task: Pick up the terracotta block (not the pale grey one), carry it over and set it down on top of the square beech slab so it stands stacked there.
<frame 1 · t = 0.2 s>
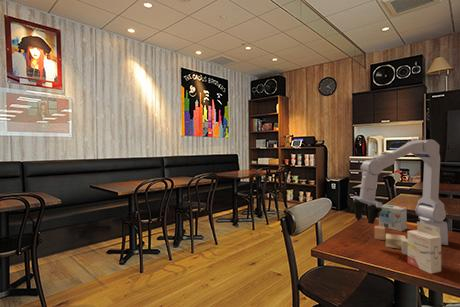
hand: (364, 220, 111), 11 cm above the table, tool pointing down, fingers open, 7 cm apart
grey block: (407, 253, 103), on the table
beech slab: (395, 245, 111), on the table
light bulb box: (392, 228, 135), on the table
ink cartridge box: (423, 268, 91), on the table
terracotta block: (379, 238, 120), on the table
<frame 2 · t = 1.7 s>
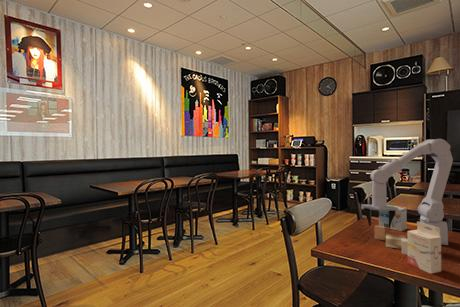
hand: (379, 226, 120), 5 cm above the table, tool pointing down, fingers open, 7 cm apart
nothing on the table moved.
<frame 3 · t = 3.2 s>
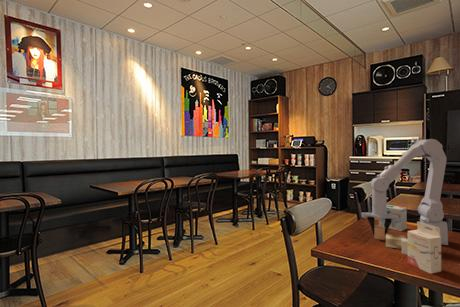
hand: (379, 234, 120), 2 cm above the table, tool pointing down, fingers closed on terracotta block, 4 cm apart
terracotta block: (379, 238, 120), on the table, touching gripper
everything else where it was.
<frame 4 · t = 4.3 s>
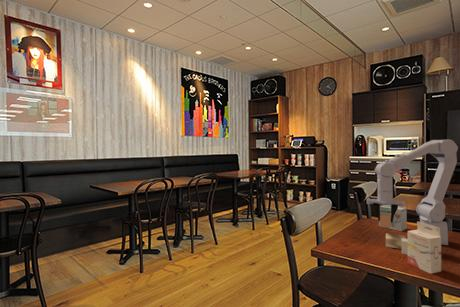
hand: (385, 221, 116), 9 cm above the table, tool pointing down, fingers closed on terracotta block, 4 cm apart
terracotta block: (385, 225, 117), point 7 cm above the table, touching gripper
everything else where it was.
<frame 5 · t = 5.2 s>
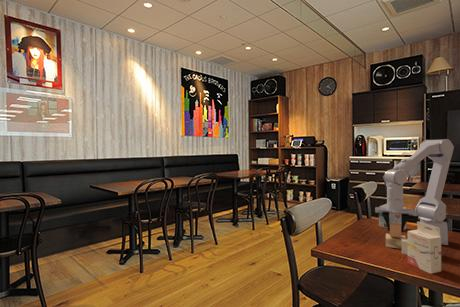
hand: (395, 231, 111), 6 cm above the table, tool pointing down, fingers closed on terracotta block, 4 cm apart
terracotta block: (395, 235, 111), point 4 cm above the table, touching gripper
everything else where it was.
when the fingers open (6 cm above the table, at t = 5.8 s): terracotta block stays where it is, resting on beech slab.
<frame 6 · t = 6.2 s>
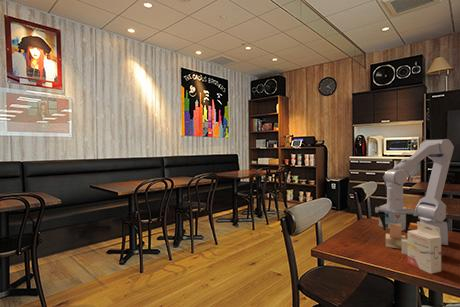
hand: (395, 231, 111), 6 cm above the table, tool pointing down, fingers open, 7 cm apart
terracotta block: (395, 236, 111), point 3 cm above the table, touching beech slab
everything else where it was.
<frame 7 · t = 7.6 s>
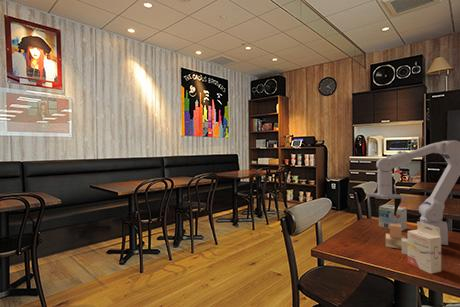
hand: (385, 214, 121), 10 cm above the table, tool pointing down, fingers open, 7 cm apart
nothing on the table moved.
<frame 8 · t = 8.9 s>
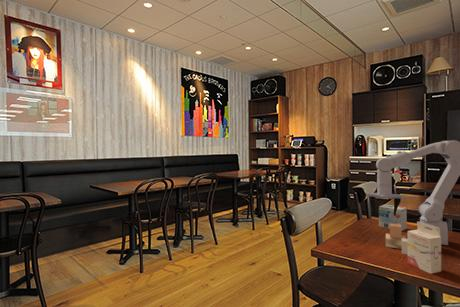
hand: (384, 214, 121), 10 cm above the table, tool pointing down, fingers open, 7 cm apart
nothing on the table moved.
at the end: terracotta block 0.0 cm off-centre on the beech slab, point 3.5 cm above the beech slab's base; terracotta block tilted 0°; the gripper is holding nothing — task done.
